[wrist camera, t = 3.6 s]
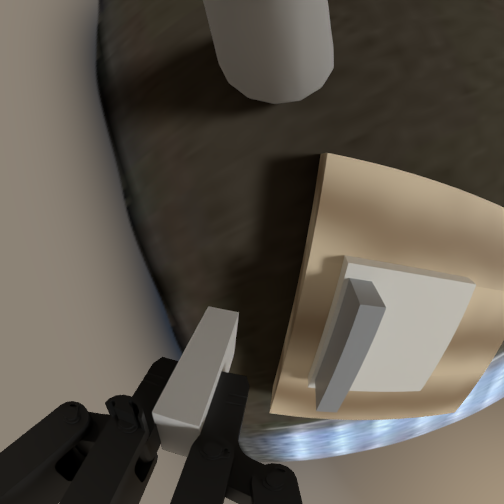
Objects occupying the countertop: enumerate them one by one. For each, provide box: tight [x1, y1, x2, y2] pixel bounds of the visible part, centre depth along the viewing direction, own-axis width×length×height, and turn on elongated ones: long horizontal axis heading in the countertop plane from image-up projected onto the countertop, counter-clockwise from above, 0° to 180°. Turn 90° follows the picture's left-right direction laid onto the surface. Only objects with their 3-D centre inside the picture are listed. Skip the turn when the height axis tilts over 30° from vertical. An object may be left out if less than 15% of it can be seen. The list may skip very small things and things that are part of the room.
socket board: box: [270, 153, 504, 420], centre depth 15 cm, size 18×18×3 cm
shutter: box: [308, 255, 476, 412], centre depth 13 cm, size 8×8×4 cm
